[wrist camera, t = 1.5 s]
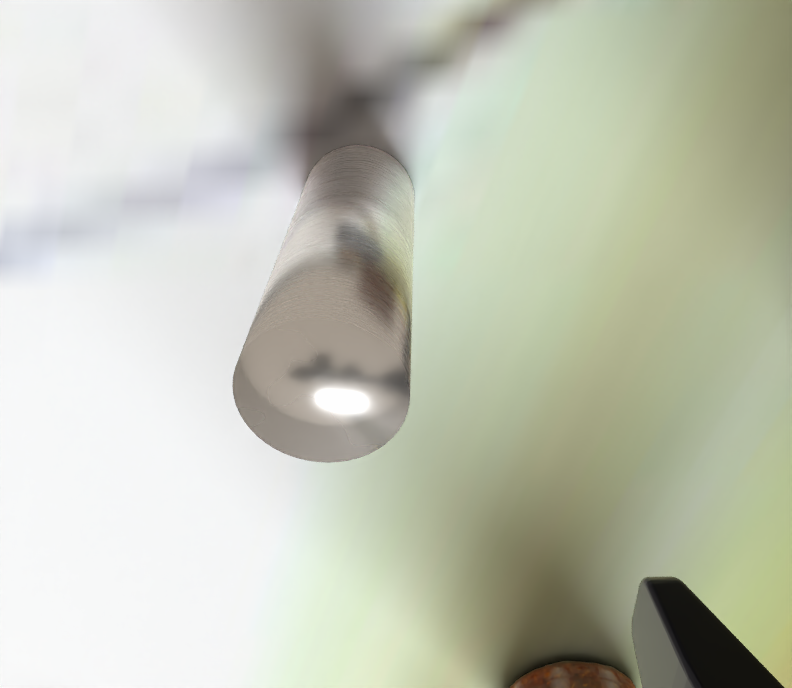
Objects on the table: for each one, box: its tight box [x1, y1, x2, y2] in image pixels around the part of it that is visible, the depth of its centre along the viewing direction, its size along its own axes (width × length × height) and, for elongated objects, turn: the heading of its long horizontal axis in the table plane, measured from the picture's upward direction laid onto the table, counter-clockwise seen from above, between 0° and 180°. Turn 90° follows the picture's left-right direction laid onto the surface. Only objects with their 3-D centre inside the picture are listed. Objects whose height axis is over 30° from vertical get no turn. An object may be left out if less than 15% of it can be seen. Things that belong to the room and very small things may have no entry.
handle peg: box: [233, 145, 415, 462], centre depth 16 cm, size 3×3×9 cm
